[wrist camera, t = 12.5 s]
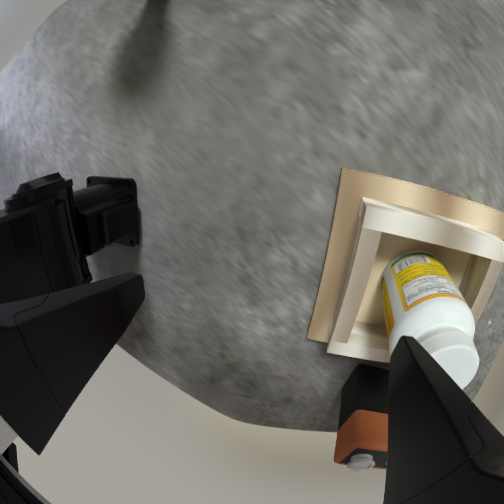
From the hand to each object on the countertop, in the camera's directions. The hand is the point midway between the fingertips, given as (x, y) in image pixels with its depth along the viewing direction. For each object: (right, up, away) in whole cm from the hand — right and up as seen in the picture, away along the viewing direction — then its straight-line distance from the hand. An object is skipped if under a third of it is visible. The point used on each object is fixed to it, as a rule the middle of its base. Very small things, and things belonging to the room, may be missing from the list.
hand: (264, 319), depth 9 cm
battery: (+12, -11, +15) cm, 23 cm away
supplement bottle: (+11, 0, +10) cm, 15 cm away
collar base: (+12, 0, +10) cm, 16 cm away
